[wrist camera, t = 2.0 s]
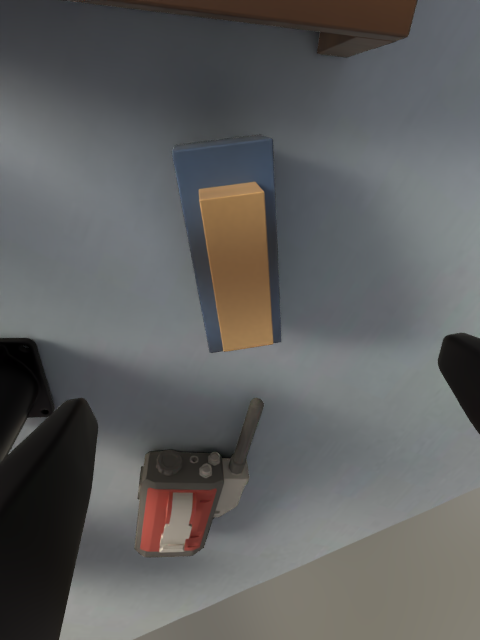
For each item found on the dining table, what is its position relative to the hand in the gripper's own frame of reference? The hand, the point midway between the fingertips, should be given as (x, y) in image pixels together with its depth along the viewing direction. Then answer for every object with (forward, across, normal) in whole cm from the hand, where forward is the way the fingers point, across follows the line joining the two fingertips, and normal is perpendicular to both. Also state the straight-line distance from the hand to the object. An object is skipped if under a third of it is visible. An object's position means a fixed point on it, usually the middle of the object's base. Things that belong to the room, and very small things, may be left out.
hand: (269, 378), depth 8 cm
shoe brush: (+12, 0, 0) cm, 13 cm away
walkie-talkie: (+13, +6, +21) cm, 25 cm away
